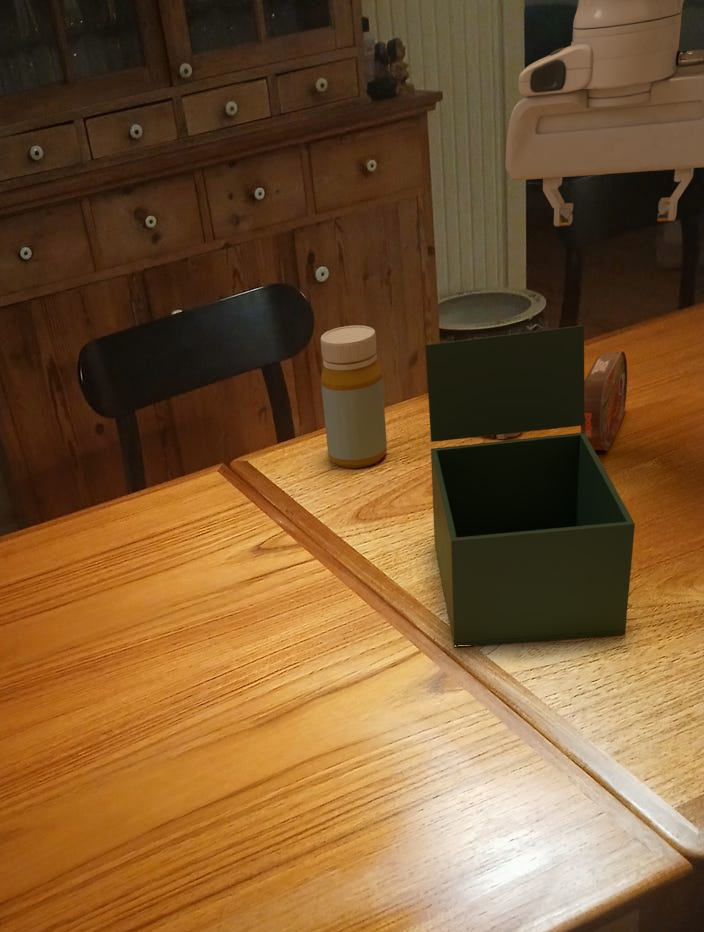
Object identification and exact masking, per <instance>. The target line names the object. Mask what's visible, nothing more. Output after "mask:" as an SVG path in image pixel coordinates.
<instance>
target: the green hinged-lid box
mask: <svg viewBox="0 0 704 932" xmlns="http://www.w3.org/2000/svg"><path fill="white" fill-rule="evenodd" d="M430 459H431V461H430V462H431V464H430V465H431V483H432V484H431V488H432V512H433V515H432V516H433V536H434V537H433V538H434V539H433V540H434V549H435V554H436V559H437V565H438V570H439V575H440V581H441V585H442V592H443V594H444V595H443V596H444V597H443V598H444V601H445V602H444V603H445V606H446V611H447V617H448V623H449V628H450V633H451V632H452V634H451V638H452V637H453V639H452V643H453V642H454V644H453V647H454V646H455V645H456V646H458V645H471V646H470V647H479V646H480V647H482V646H494V645H505V644H506V645H507V644H519V643H521V644H522V643H533V642H547V641H548V642H549V641H558V640H560V641H561V640H572V639H573V640H574V639H584V638H599V637H612V636H623V635H624V636H625V635H626V627H627V617H628V605H629V595H630V583H631V573H632V564H633V563H632V561H633V551H634V539H635V529H636V523H635V522H634V520H633V518H632V516H631V514H630V512H629V510H628V509H627V507H626V505H625V503H624V502H623V500H622V498H621V495H620V494H619V492H618V490H617V488H616V487H615V485H614V483H613V481H612V480H611V478H610V476H609V474H608V473H607V470H606V469H605V467H604V465H603V463H602V462H601V460H600V458H599V456H598V454H597V453H596V450H594V449H593V447H592V445H591V443H590V441H589V440H588V438H587V436H586V434H585V432H582V433H581V432H574V433H565V434H557V435H555V434H554V435H547V436H537V437H528V438H527V437H526V438H518V439H510V440H509V439H508V440H500V441H490V442H481V443H472V444H464V445H453V446H445V447H444V446H443V447H435V448H430ZM475 645H476V646H475Z"/></svg>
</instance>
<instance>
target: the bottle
mask: <svg viewBox="0 0 704 932" xmlns="http://www.w3.org/2000/svg"><path fill="white" fill-rule="evenodd" d="M320 348H321V349H320V350H321V356H322V366H323V367H322V371H321V375H320V387H321V398H322V408H323V417H324V427H325V436H326V447H327V453H328V454H327V455H328V458H329V460H330V461H331V462H332V463H334V464H335V465H336V466H338V467H341V468H346V469H347V468H348V469H360V468H365V467H369V466H372V465H375V464H376V463H378V462H380V461H381V460H382V459H383V458H384V456H385V455H386V453H387V451H388V450H387V449H388V448H387V445H388V444H387V441H388V440H387V427H386V411H385V397H384V382H383V380H384V379H383V373H382V372H383V370H382V367H381V366H380V364H379V361H378V354H377V333H376V330H375V329H374V328H373V327H371V326H368V325H346V326H339V327H335V328H332V329H329V330H328V331H325V332H324V333H323V334H322V335H321V336H320Z"/></svg>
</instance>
